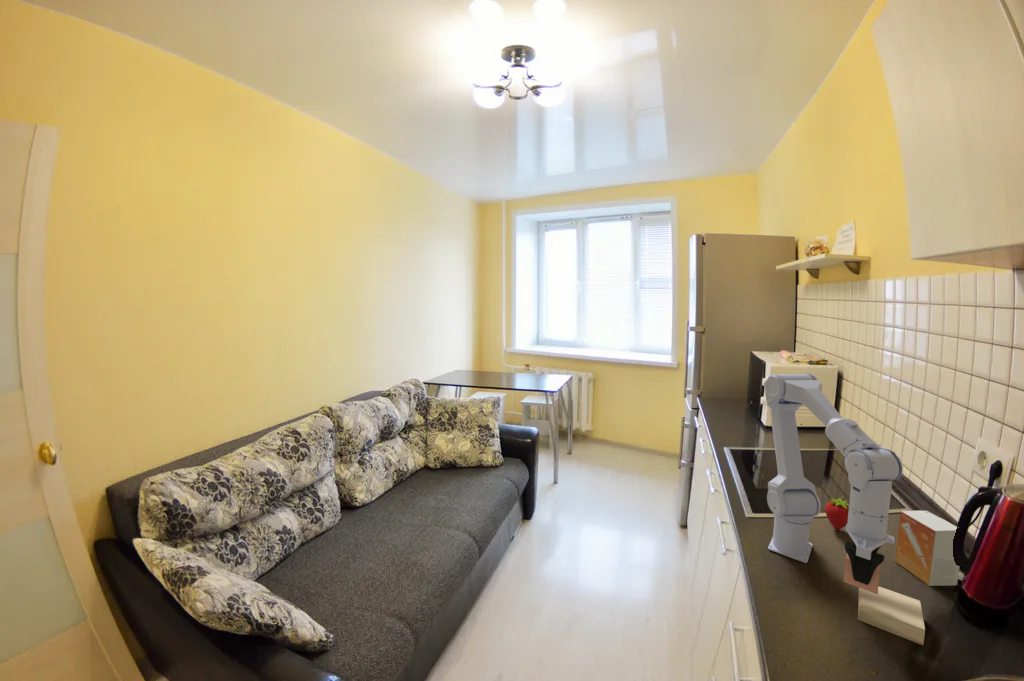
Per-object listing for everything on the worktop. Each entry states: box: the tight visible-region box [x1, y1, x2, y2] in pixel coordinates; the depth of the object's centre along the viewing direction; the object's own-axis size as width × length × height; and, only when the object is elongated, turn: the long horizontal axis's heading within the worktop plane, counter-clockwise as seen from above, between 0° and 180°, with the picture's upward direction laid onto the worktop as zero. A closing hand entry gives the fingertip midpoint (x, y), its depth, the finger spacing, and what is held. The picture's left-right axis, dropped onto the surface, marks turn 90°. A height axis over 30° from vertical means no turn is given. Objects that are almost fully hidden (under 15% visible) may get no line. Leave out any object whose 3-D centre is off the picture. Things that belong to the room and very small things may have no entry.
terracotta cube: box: [843, 553, 881, 595], centre depth 79 cm, size 5×5×5 cm
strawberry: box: [824, 496, 849, 531], centre depth 107 cm, size 6×8×10 cm
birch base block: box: [857, 586, 926, 646], centre depth 79 cm, size 9×9×4 cm
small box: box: [894, 510, 960, 587], centre depth 90 cm, size 8×6×13 cm
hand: (862, 574), depth 79 cm, fingers closed on terracotta cube, 5 cm apart
